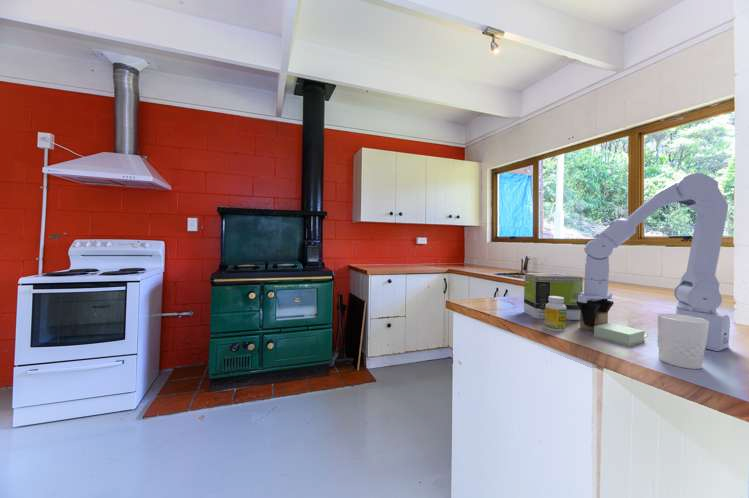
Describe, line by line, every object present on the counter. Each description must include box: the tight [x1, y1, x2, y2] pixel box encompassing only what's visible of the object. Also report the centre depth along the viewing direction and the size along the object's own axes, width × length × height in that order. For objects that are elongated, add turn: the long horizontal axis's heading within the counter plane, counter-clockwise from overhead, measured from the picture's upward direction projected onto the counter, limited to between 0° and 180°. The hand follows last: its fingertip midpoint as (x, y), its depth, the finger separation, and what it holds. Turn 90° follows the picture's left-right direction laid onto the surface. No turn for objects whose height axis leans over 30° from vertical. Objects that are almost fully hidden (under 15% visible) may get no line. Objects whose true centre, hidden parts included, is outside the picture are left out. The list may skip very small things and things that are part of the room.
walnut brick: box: [579, 311, 609, 332], centre depth 91 cm, size 5×5×5 cm
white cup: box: [657, 312, 709, 370], centre depth 66 cm, size 8×8×10 cm
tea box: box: [523, 272, 583, 321], centre depth 105 cm, size 15×10×15 cm
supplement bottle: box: [544, 296, 567, 332], centre depth 90 cm, size 5×5×10 cm
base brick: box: [592, 322, 646, 347], centre depth 82 cm, size 8×8×3 cm
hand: (593, 324), depth 91 cm, fingers closed on walnut brick, 5 cm apart
